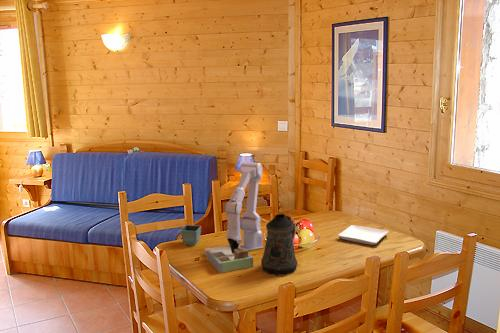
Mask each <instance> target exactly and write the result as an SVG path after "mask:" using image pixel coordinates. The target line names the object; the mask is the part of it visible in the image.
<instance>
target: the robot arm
mask: <svg viewBox="0 0 500 333" xmlns="http://www.w3.org/2000/svg"><path fill="white" fill-rule="evenodd" d="M239 169H240V177H239V181H238V185H237V187H235V188H234V189H233V192H232V193H231V196H230V199H229V201H227V202H225V206H224V211H225V217H227V220H226V221H227V230H226V234H225V238H227V239H226V241H227V243H228V245H230V248H231V251H232V253H233V254H234V249H238V246H240V247H241V248H245V249H246V250H247V251H248V252H249V251H252V250H258V249H263V248H264V246H263V245H264V244H263V233H262V232H263V231H262V230H261V226H262V223H261V216H260V215H259V214H258V213H257V212H256V211H257V205H258V204H257V203H258V192H259V183H260V180H262V177H263V165H262V163H261V162H249V161H242V163H241V164H240V168H239ZM247 185H248V188H247ZM246 188H247V198H246V208H245V209H246V210H245V211H244V212H243V213H242V214H241V212H242V207H243V200H244V198H245V195H246V192H245V189H246ZM240 231H242V234H243V235H242V237H243V239H242V238H241V232H240Z"/></svg>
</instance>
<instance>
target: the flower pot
mask: <svg viewBox="0 0 500 333" xmlns="http://www.w3.org/2000/svg"><path fill="white" fill-rule="evenodd" d="M179 232H180V236H181V239H182V242H183V243H184V245H185V246H192V247H193V246H196V245H197V244H198V242H199V240H200V238H201V233H202V226H201V225H192V224H191V225H190V224H186V225H184V226H183V227H182V228H181V229H180V231H179Z"/></svg>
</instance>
